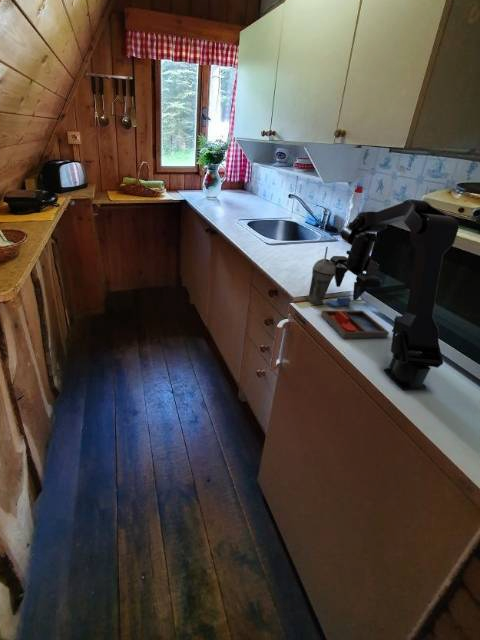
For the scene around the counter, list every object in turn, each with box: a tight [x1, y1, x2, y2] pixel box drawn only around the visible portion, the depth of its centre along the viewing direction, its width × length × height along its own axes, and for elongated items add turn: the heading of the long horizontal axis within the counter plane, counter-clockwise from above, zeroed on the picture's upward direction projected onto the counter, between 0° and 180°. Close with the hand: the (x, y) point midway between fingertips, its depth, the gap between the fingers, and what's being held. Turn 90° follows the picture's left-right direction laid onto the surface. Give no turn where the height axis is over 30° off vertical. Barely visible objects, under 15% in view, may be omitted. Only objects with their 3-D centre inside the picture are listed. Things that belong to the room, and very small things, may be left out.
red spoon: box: [335, 310, 356, 332], centre depth 92 cm, size 8×4×3 cm, turn 10°
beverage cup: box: [308, 246, 335, 305], centre depth 103 cm, size 7×7×20 cm
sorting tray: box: [320, 310, 390, 340], centre depth 94 cm, size 12×15×2 cm
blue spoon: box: [326, 296, 352, 309], centre depth 105 cm, size 8×4×3 cm, turn 100°
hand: (346, 293), depth 104 cm, fingers open, 9 cm apart
